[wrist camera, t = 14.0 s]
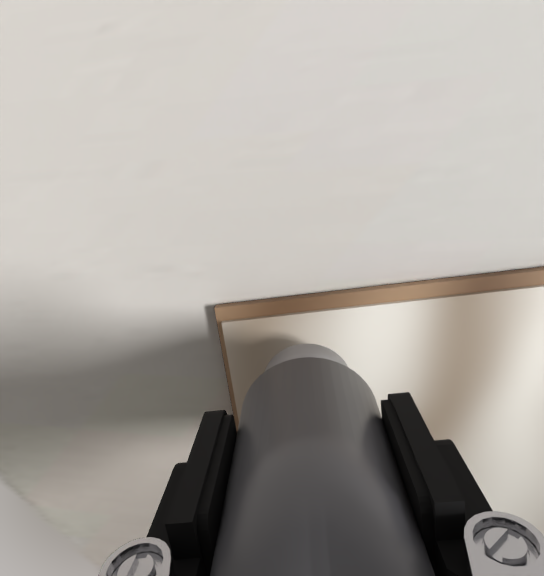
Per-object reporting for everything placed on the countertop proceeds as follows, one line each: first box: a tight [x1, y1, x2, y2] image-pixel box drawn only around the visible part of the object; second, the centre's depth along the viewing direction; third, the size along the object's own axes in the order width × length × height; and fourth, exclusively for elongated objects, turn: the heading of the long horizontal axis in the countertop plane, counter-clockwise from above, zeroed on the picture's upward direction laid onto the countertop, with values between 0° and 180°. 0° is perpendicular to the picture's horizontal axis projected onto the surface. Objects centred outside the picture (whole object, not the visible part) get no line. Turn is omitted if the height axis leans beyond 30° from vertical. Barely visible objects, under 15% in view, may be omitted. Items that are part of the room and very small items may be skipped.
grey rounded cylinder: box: [210, 343, 435, 576], centre depth 9 cm, size 4×4×12 cm
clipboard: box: [214, 267, 544, 536], centre depth 16 cm, size 16×12×1 cm
